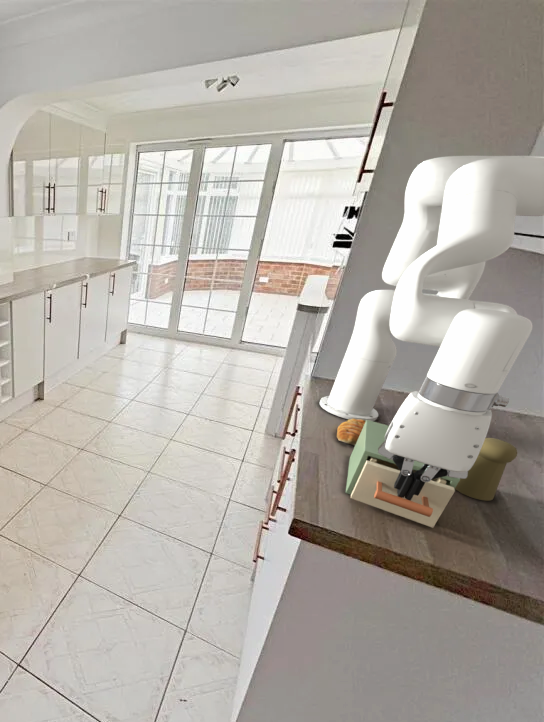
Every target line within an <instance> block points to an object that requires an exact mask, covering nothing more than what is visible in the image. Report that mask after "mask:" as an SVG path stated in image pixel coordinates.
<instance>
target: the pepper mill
mask: <svg viewBox="0 0 544 722" xmlns="http://www.w3.org/2000/svg"><path fill="white" fill-rule="evenodd" d="M517 457H518V449H517V448H516V446H514V445H513V444H512V443H510V442H507V441H505V440H502V439H498V438H494V437H486V438H485V440H484V443H483V445H482V448H481V450H480V452H479V455H478V457H477V459H476V461H475V463H474V464H473V466H472V467H471V469H470V470H469V471H468V476H467V478H465V479H460V481H459V482H458V484H457V486H456V487H455V489H454V490H455V491H457V492H459V493H461V494H462V495H465V496H466V497H470V498H472V499H476V500H479V501H486V502H489V501H492V500H494V498H495V495H496V493H497V490H498V487H499V485H500V482H501V480H502V477H503V474H504V471H505V469H506V467H507V464H509V463H511V462H513V461H514V460H515V459H516V458H517Z"/></svg>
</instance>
